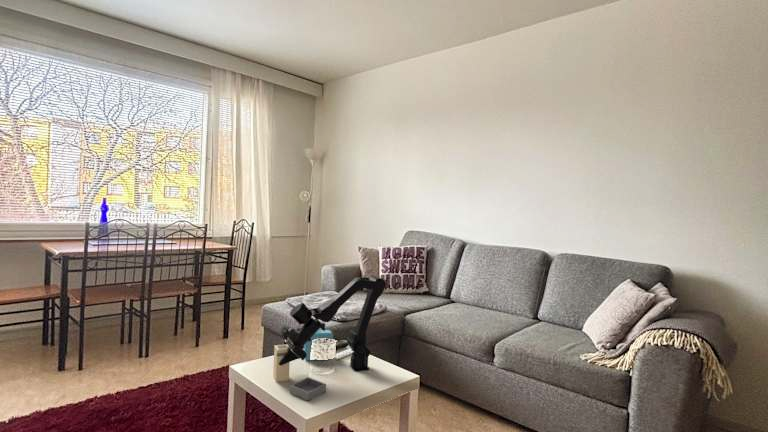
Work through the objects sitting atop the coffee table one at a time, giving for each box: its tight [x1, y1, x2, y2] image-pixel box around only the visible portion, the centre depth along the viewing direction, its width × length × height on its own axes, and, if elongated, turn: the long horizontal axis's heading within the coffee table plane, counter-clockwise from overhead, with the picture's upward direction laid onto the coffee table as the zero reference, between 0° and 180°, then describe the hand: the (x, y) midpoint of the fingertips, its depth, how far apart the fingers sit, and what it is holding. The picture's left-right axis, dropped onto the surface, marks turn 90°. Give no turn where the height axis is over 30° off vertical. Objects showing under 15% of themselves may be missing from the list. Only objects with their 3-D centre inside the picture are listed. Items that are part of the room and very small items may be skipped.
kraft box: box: [272, 344, 291, 383], centre depth 166 cm, size 5×5×13 cm
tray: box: [289, 377, 327, 402], centre depth 156 cm, size 9×9×3 cm
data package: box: [303, 329, 334, 362], centre depth 189 cm, size 12×4×12 cm, turn 105°
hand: (278, 362), depth 166 cm, fingers closed on kraft box, 5 cm apart
